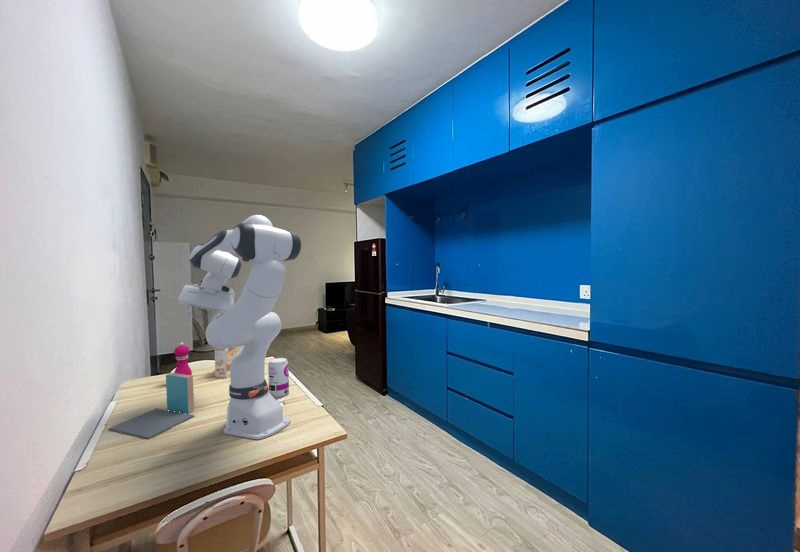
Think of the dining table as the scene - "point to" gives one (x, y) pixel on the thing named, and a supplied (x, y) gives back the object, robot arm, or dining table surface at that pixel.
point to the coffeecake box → (225, 360)
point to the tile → (180, 393)
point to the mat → (151, 423)
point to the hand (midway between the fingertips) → (199, 318)
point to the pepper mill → (182, 360)
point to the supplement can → (278, 377)
